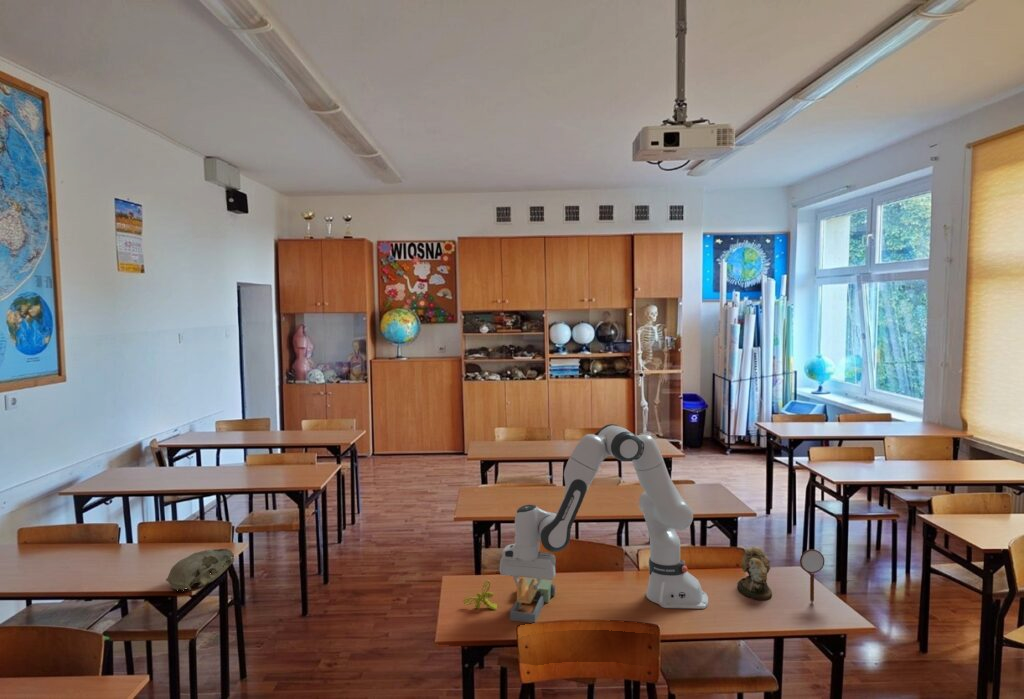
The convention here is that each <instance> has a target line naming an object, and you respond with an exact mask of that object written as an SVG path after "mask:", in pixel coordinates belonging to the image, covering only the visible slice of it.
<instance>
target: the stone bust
mask: <svg viewBox="0 0 1024 699" xmlns="http://www.w3.org/2000/svg"><path fill="white" fill-rule="evenodd" d="M740 564H741V568H742V571H743V572H745V573H747V574H748V575H746V576H745V577H743V578H741V579H740V580H739V581H738V582H737V585H738V586H737V589H738V591H739V592H740V593H741V595H743V596H745V597H747V598H750V599H752V600H755V601H767V600H771V599H772V597H773V592H772V589H771V588H770V587H769V585H768V582H767V581H768V574H769V572H770V570H771V560H770V558H769V557H768V556H767V554H766V552H765V550H764V549H763V548H762V547H760V546H752V547H751V546H749V547H746V548H745V549H744V556H743V558H742V559H741V563H740Z"/></svg>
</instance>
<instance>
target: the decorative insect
mask: <svg viewBox="0 0 1024 699" xmlns="http://www.w3.org/2000/svg"><path fill="white" fill-rule="evenodd" d="M485 587H486V588H485ZM490 587H491V581H490V580H489V579H487V580H485V582H484V583H483V586H482V588H481V593H480V592H477V593H476V596H469V597H466V598H465V599H463V601H462V602H463V604H464V605H467V606H468V605H472V604H474V603H475V606H474V607H475V609H477V610H479V608H480V609H481V604H482V603H483V605H484V606H486V607H487V608H489V609H492V610H494V611H496V610H497V609H498V604H497V603H492V601H489V599H492V598H493V597H494V593H493V592H492V591H489V590H490Z"/></svg>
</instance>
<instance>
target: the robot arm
mask: <svg viewBox="0 0 1024 699" xmlns="http://www.w3.org/2000/svg"><path fill="white" fill-rule="evenodd" d="M609 456H611V457H614V458H615V459H616V460H618V461H621V462H631V461H632V464H633V467H634V470H635V473H636V476H637V479H638V481H639V484H640V486H641V488H642V489H643V492H642V493H641V495H640V496H639V499H638V507H639V509H640V510H641V512H642V514H643V517H644V520H645V523H646V528H647V531H648V538H649V555H650V556H649V558H648V559H649V560H648V572H649V579H648V586H647V590H646V593H645V595H646V598H647V599H648V600H649V601H651V602H653V603H655V604H658V605H659V606H660V607H662V608H664V609H706V608H707V607H708V606H709V597H708V594H707V593H706V592H705V591H703V589H702V586H701V584H700V581H699V580H698V578H696V577H695V576H694V575H692V574H691V573H690V572H689V571H688V567H687V564H686V561H685V560H682V559H681V540H680V536H678V534H677V531H685V530H686V529H688V528H689V527H690V526H691V524H692V522H693V520H694V512H693V509H692V508H691V507H690V505H688V503H687V502H686V501H685V500H684V498H683V496H682V495H681V494H680V492H679V490H678V489H677V487H676V485H675V484H674V482H673V480H672V479H671V476H670V474H669V471H668V469H667V466H666V463H665V460H664V457H663V455H662V452H661V450H660V448H659V446H658V444H657V442H656V441H655V439H654V437H652V436H651V435H649V434H645V433H643V434H637V435H635V434H634V433H633V432H631V431H629V430H628V429H626V428H625V427H622V426H620V425H618V424H614V423H611V424H610V423H608V424H606V425H604V426H602V427H601V428H600V429H599V430H598V431H596V432H595V433H593V434H592V433H587V434H585V435H583V436H582V438H581V439H580V440H579V442H577V444H576V446H575V447H574V449H573V450H572V453H570V456H569V458H568V459H567V460H568V461H567V462H566V465H565V467H564V471H563V477H564V478H563V479H564V485H565V486H564V487H565V489H564V490H565V491H564V494H563V499H562V501H561V503H560V506H559V507H558V509H557V512H556V513H555V512H553V511H547V510H543V509H541V508H539V507H538V506H537V505H535V504H525V505H522V506H520V507H519V508H517V510H516V511H515V517H514V533H515V540H514V543H511V544H507V545H506V546H505V547H504V548H503V550H502V552H501V553H502V554H501V555H502V557H501V558H500V562H499V573H500V574H501V576H505V577H506V576H507V577H513V578H512V579H513V581H514V583H515V584H516V586H517V584H518V583H519V581H520V579H519V578H522V577H527V578H529V579H533V578H537V581H538V583H537V584H536V583H535V585H534V590H538V589H539V583H540V582H541V580H549V581H553V580H554V578H555V577H556V562H557V560H556V556H555V555H554V554H553V553H559V552H562V551H564V550H565V549H566V548H567V547H568V545H569V544H570V540H571V533H572V532H571V530H572V526H573V523H574V522H575V518H576V516H577V515H578V512H579V510H580V507H581V506H582V503H583V500H584V498H585V496H586V493H587V492H588V490H589V488H590V486H591V484H592V482H593V480H594V478H595V476H596V475H597V472H598V471H599V469H600V467H601V464H602V463H603V462H604V461H605V459H606V458H608V457H609ZM676 530H677V531H676ZM540 543H541V545H542V547H544V549H546V551H548V552H544V551H540ZM552 552H553V553H552Z"/></svg>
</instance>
